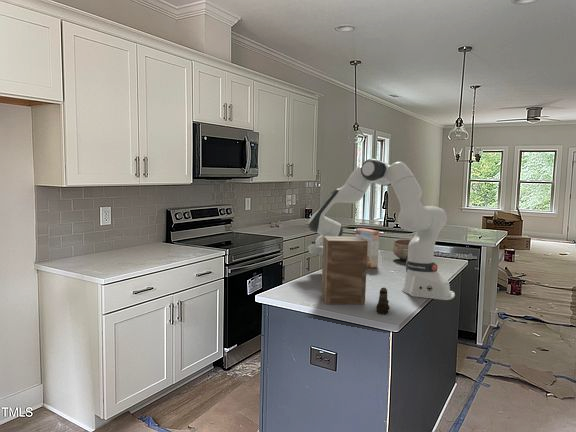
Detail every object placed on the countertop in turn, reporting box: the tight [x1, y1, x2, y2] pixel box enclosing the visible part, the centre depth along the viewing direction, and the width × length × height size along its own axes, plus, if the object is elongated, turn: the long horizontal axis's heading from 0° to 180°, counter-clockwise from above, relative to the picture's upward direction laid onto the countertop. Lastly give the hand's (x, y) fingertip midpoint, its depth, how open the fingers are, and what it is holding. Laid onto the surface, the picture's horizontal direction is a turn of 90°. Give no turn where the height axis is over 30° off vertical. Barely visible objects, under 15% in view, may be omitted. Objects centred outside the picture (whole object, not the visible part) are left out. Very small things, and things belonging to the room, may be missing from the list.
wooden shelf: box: [321, 235, 368, 305], centre depth 185 cm, size 12×16×26 cm
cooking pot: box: [392, 238, 413, 262], centre depth 273 cm, size 25×19×12 cm
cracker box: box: [355, 227, 380, 269], centre depth 255 cm, size 14×6×21 cm, turn 32°
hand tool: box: [375, 287, 390, 315], centre depth 179 cm, size 23×5×6 cm, turn 165°
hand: (331, 252), depth 212 cm, fingers closed on oak slat, 3 cm apart
